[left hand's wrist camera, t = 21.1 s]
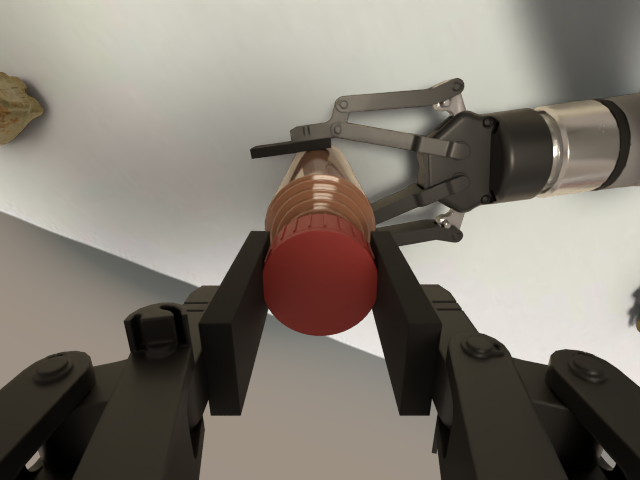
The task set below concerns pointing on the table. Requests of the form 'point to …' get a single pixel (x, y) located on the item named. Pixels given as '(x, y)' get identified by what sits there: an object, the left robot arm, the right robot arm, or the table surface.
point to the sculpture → (15, 107)
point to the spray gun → (638, 324)
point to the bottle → (320, 192)
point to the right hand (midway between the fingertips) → (261, 190)
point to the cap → (320, 275)
